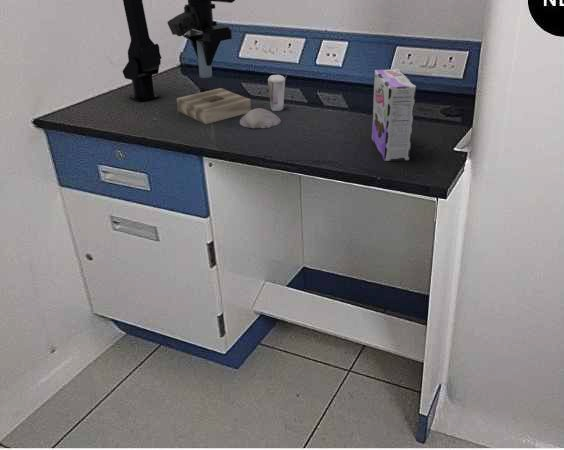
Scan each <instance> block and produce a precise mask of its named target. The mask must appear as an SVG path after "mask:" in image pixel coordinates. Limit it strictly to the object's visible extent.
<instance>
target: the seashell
mask: <svg viewBox="0 0 564 450" xmlns="http://www.w3.org/2000/svg"><path fill="white" fill-rule="evenodd" d="M281 121H282V120H281V119H280V117H279V116H277V114H275V113H273V112H272V111H270V110H267V109H265V108H261V107H258V108H253V109H251V111H249V112H248V113H246V114H243V116H242V117H241V118H240V120H239V125H241V126H242V127H245V128H250V129H253V130H254V129H266V128H267V129H270V128H274V127H276V126H278V125H280V124H281Z"/></svg>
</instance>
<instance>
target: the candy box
mask: <svg viewBox="0 0 564 450" xmlns="http://www.w3.org/2000/svg"><path fill="white" fill-rule="evenodd" d="M373 81H374V83H373V102H372V103H373V104H372V108H373V109H372V125H371V126H372V127H371V140H372V142H373V143H374V146H375V147H376V149H377V150H378V152H379V154H380V156H381V157H382V159H383V161H384V162H393V161H396V162H397V161H409V160H410V154H411V146H412V145H411V144H412V143H411V142H412V132H413V131H412V130H413V124H414V123H413V122H414V121H413V120H414V113H415V112H414V111H415V110H414V108H415V102H416V101H415V100H416V89H417V86H416V85H415V84H413V82H411V80H410V79H409V78H408V77H407V76H406V75H405V74H404V73H403V72H402V71H401V69H400V68H390V69H389V68H388V69H375V70H374V80H373Z"/></svg>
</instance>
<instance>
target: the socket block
mask: <svg viewBox="0 0 564 450" xmlns="http://www.w3.org/2000/svg"><path fill="white" fill-rule="evenodd" d="M251 106H252V105H251V99H250V98H248V97H246V96H243V95H240V94H237V93H235V92H232V91H229V90H226V89H225V88H222V87H220V88H214V89H211V90H206V91H203V92H202V91H201V92H198V93H193V94H189V95H185V96H184V95H183V96H182V97H181V96H179V97H177V98H176V108H177V112H178V113H181V114H183V115H184V116H185V115H186V116H187V117H189V118H192V119H194V120H196V121H198V122H200V123H203V124H205V125H207V124H208V125H209V124H211V123H216V122H219V121H223V120H228V119H230V118H234V117H238V116H242V115H246V114H247V113H248V112H249V111H251V110H252V107H251Z"/></svg>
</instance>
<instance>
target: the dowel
mask: <svg viewBox="0 0 564 450" xmlns="http://www.w3.org/2000/svg"><path fill="white" fill-rule="evenodd" d="M196 42H197V53H198V58H197V61H198V62H197V63H198V71H199V73H198V74H199V78H204V79H205V78H206V79H207V78H212V77H213V69H212V67H213V66H212V64H211V65H210V66H207V65H206V61H205V56H204V50H203V46H202V44H201V43H199V42H198V41H196Z"/></svg>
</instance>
